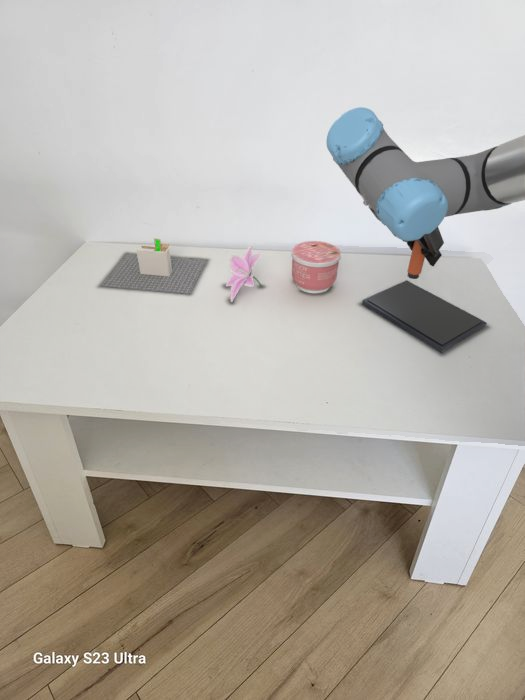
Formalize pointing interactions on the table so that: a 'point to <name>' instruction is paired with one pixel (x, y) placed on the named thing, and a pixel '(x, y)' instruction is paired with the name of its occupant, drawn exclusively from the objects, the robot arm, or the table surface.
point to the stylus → (415, 261)
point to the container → (315, 265)
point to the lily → (242, 271)
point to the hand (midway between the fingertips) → (429, 256)
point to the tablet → (424, 315)
